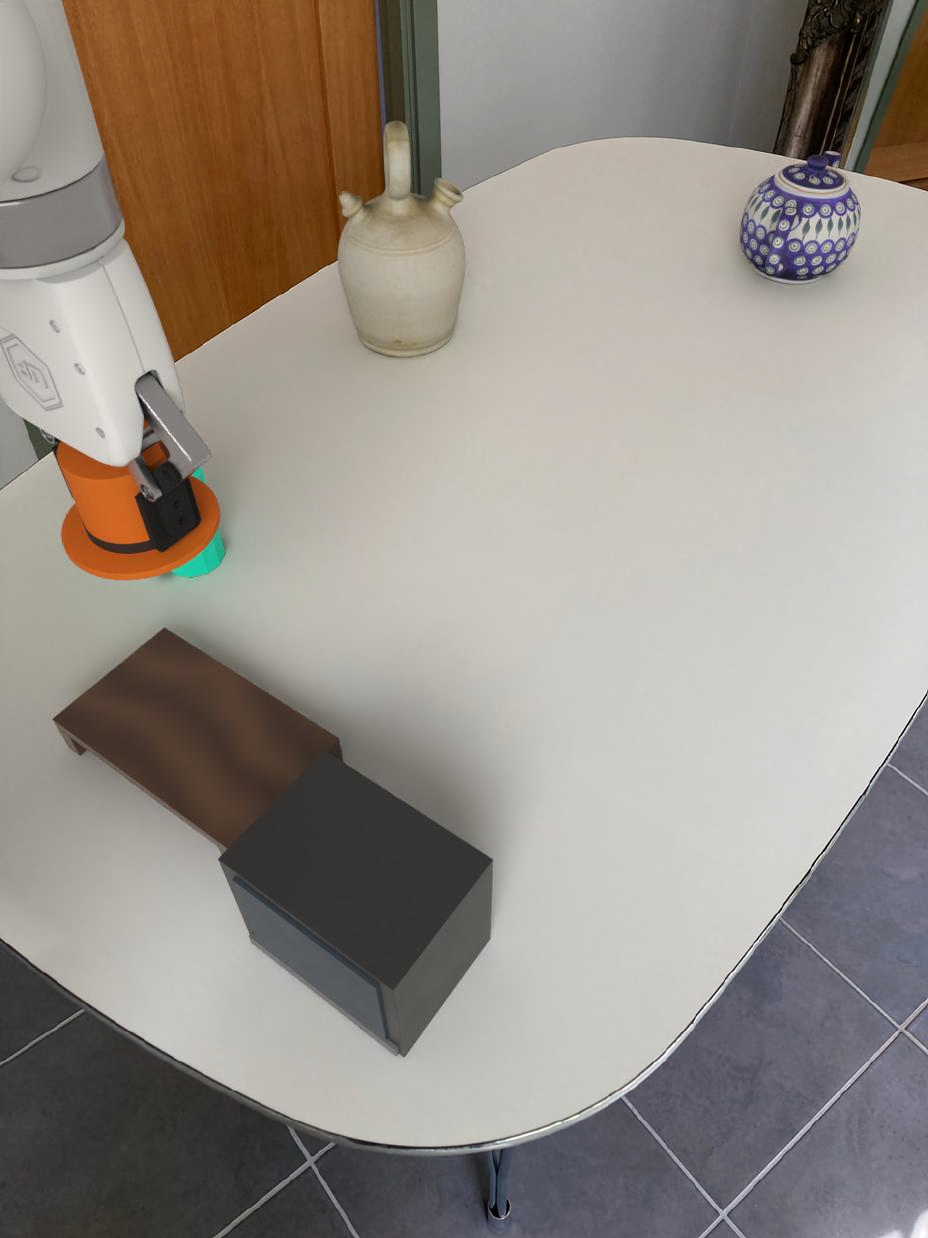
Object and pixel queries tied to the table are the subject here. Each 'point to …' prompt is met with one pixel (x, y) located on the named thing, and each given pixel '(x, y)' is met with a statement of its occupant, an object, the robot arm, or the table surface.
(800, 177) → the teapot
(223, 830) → the stand
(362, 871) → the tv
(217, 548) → the candle
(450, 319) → the jug
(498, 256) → the table surface
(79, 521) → the hat
